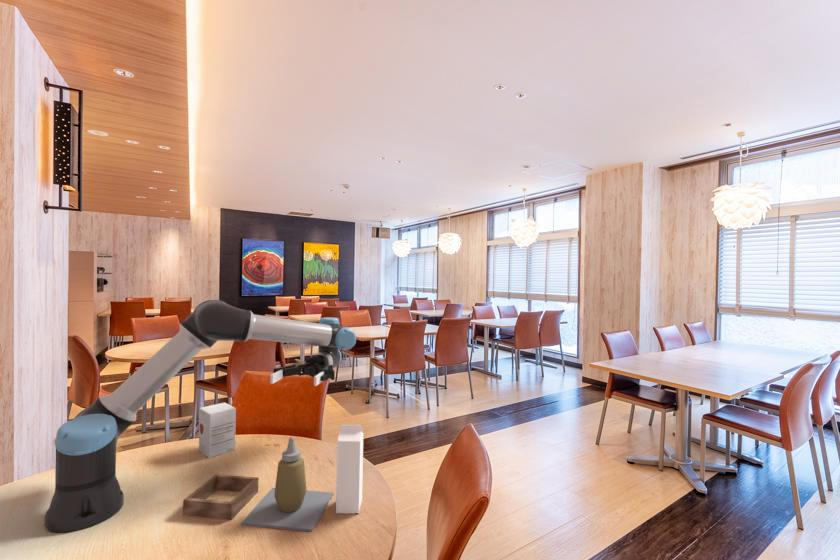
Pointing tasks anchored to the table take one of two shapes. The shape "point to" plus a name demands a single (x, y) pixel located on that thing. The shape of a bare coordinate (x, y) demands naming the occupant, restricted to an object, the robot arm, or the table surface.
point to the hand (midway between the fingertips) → (293, 380)
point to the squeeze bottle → (290, 479)
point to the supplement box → (217, 429)
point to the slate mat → (296, 520)
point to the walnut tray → (217, 509)
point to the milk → (349, 469)
